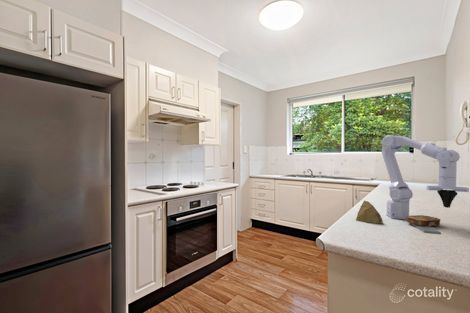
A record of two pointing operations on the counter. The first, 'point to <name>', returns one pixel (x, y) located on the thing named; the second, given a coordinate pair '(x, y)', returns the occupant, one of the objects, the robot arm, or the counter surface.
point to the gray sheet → (426, 229)
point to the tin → (423, 220)
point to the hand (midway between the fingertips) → (446, 207)
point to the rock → (368, 213)
